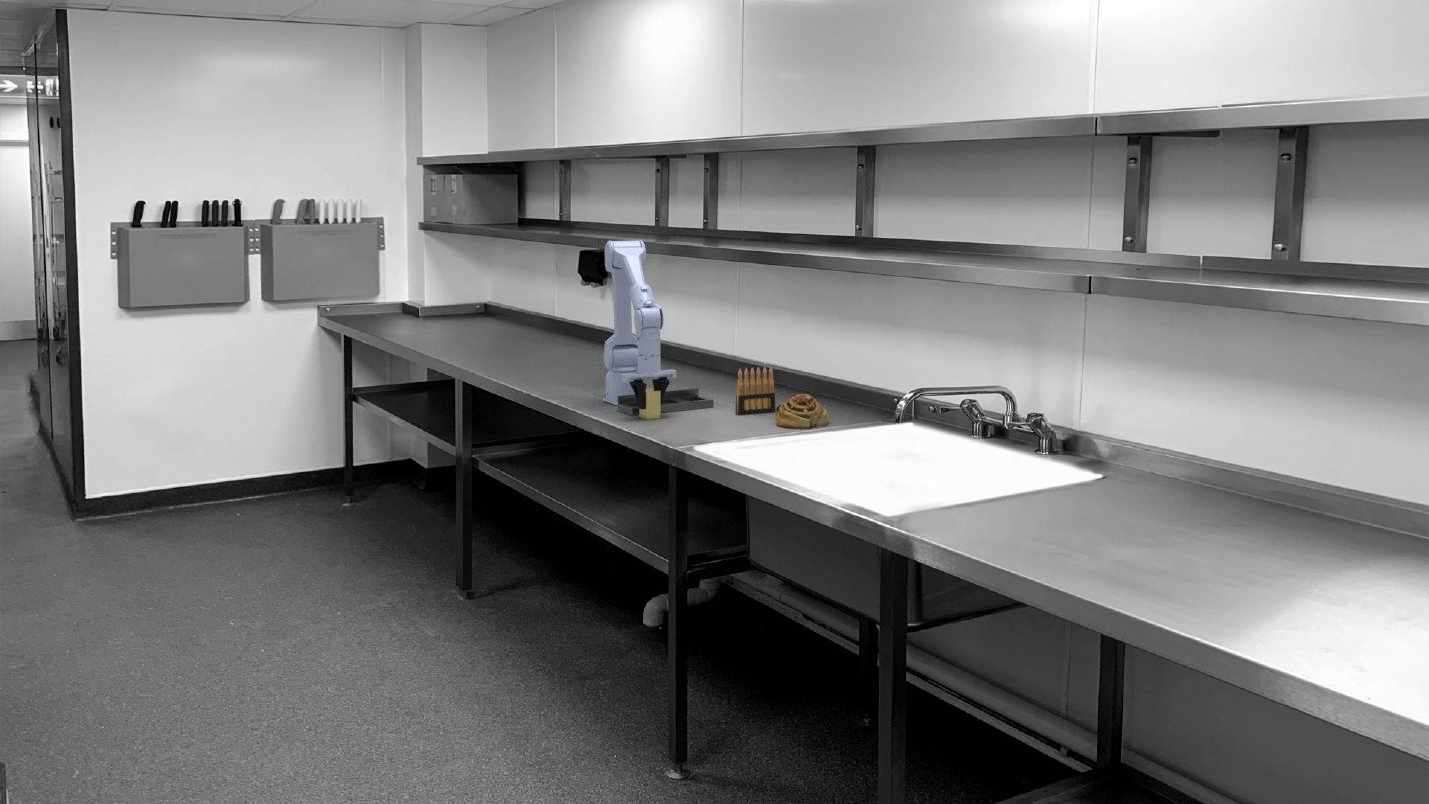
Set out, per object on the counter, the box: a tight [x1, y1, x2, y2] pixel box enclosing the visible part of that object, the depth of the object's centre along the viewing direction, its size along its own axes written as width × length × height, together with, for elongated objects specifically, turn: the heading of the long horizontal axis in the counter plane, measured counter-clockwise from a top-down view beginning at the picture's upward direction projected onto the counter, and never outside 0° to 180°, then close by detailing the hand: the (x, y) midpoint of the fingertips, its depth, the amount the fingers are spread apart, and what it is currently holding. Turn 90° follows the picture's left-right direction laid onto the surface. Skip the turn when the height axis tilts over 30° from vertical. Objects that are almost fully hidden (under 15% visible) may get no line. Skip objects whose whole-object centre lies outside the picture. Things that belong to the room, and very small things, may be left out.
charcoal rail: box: [617, 387, 715, 417], centre depth 316 cm, size 9×24×4 cm, turn 120°
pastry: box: [775, 393, 829, 430], centre depth 296 cm, size 13×15×8 cm
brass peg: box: [638, 388, 662, 420], centre depth 304 cm, size 4×4×7 cm
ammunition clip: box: [735, 366, 777, 416], centre depth 309 cm, size 11×2×12 cm, turn 113°
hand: (649, 408), depth 305 cm, fingers closed on brass peg, 4 cm apart
